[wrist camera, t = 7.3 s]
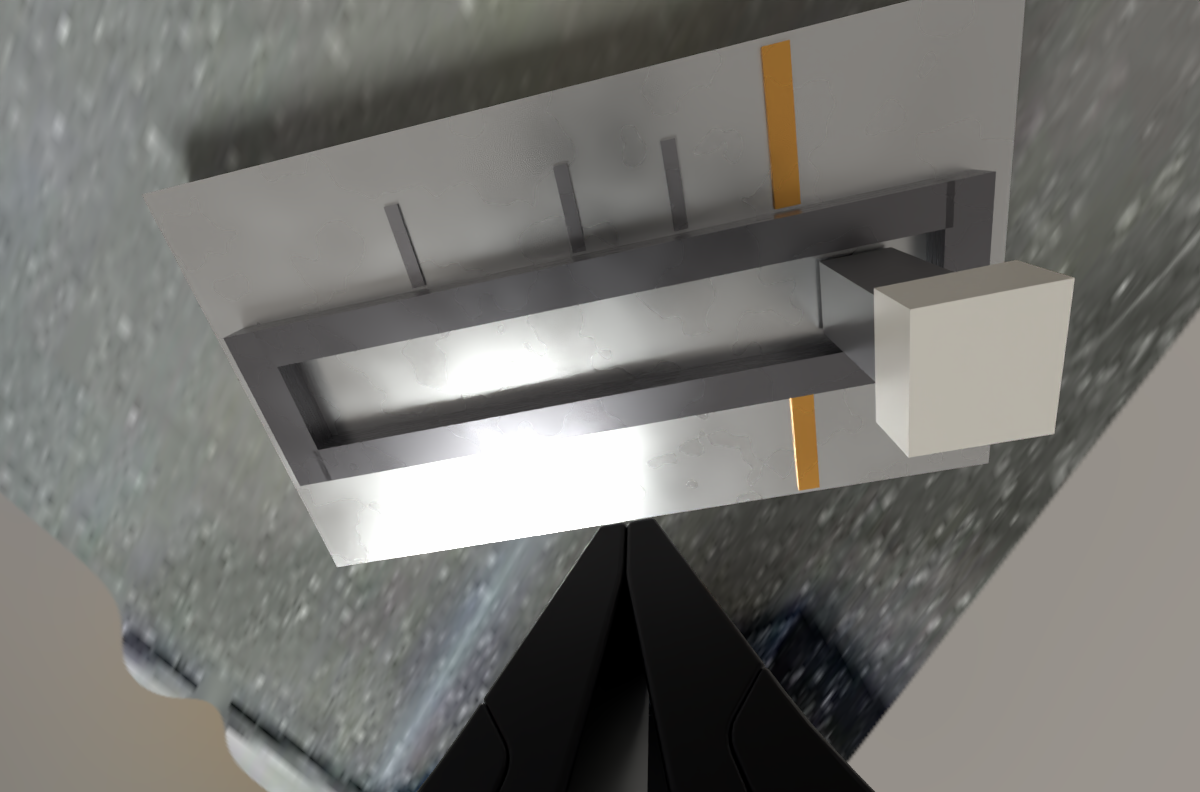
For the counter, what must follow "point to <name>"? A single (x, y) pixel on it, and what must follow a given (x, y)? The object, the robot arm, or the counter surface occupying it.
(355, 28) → the counter surface
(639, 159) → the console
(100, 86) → the counter surface
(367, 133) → the counter surface
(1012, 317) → the fader tab
